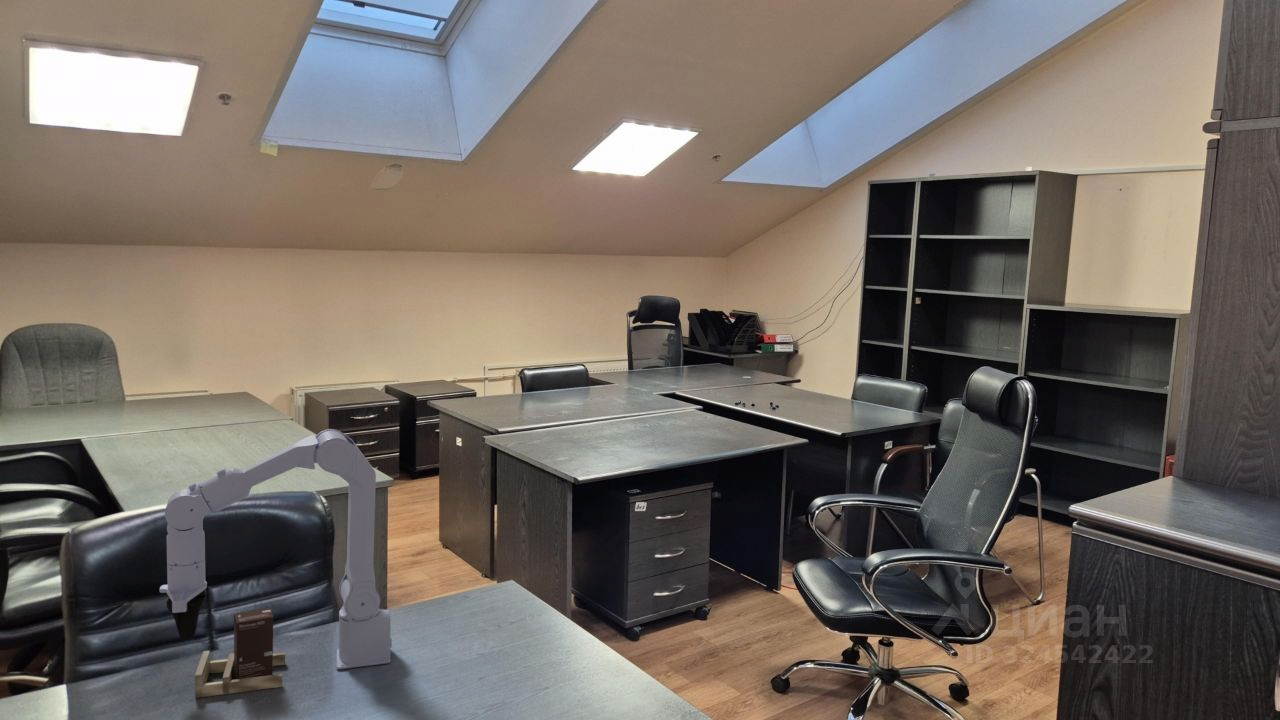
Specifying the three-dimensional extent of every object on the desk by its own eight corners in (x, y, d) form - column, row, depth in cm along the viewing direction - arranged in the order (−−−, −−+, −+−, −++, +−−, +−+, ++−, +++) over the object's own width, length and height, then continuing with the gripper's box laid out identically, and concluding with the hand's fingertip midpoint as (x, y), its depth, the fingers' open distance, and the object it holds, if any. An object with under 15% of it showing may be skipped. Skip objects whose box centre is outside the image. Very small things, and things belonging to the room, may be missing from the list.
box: (237, 688, 141) (236, 622, 139) (233, 677, 144) (232, 612, 143) (274, 680, 144) (273, 615, 143) (270, 669, 148) (269, 606, 146)
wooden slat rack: (285, 662, 150) (285, 642, 150) (281, 686, 142) (281, 665, 141) (203, 672, 145) (203, 651, 145) (195, 697, 137) (194, 675, 136)
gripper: (168, 548, 143) (169, 621, 145) (150, 577, 130) (152, 658, 131) (212, 545, 146) (213, 617, 147) (199, 573, 132) (200, 652, 134)
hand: (187, 636), depth 140 cm, fingers closed
